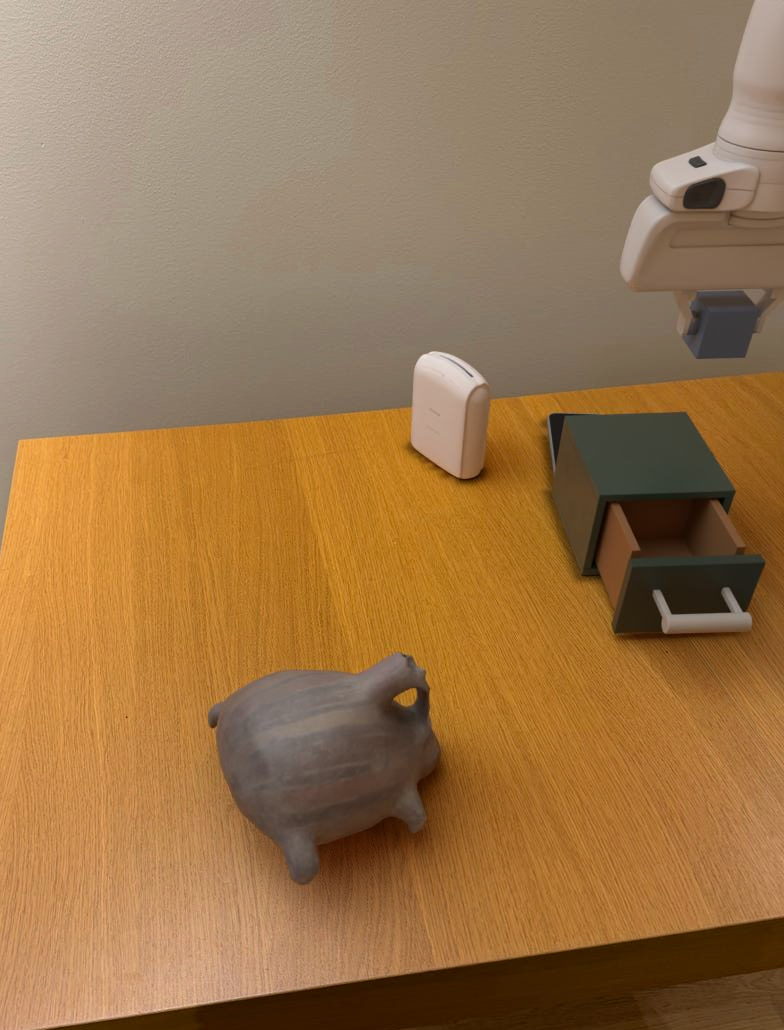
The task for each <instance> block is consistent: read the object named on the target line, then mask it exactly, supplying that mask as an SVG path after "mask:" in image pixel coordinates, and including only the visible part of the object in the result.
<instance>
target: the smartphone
mask: <svg viewBox="0 0 784 1030" xmlns="http://www.w3.org/2000/svg"><path fill="white" fill-rule="evenodd" d="M576 415H604V414H603V413H585V412H584V413H583V412H582V413H581V412H551V413H549V414H548V415H547V421H546V423H547V424H546V425H547V431H548V440H549V447H550V456H551V464H552V471H553V473H552V474H553V475H554V474H555V468H556V462H557V457H558V451H559V446H560V440H561V435H562V429H563V424H564V418H565V416H576Z"/></svg>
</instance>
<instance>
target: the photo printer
mask: <svg viewBox="0 0 784 1030" xmlns="http://www.w3.org/2000/svg"><path fill="white" fill-rule="evenodd" d="M412 384H413V385H412V402H411V404H412V405H411V427H410V443H411V446H412V447H413V448H414V449H415V450H416V451H418V452H419V453H420V454H421V455H423V456H424V457H425V458H427V459H428V460H429V461H431V462H432V463H434V464H435V465H437V466H438V467H439V468H441V469H443V470H444V471H445V472H447V473H449V474H450V475H452V476H454V477H456V478H457V479H461V480H466V479H473V478H475V477H477V476H478V475H479V474H480V473H481V470H482V469H483V468H484V465H485V459H486V458H485V457H486V447H487V440H488V439H487V438H488V430H489V429H488V428H489V419H490V412H491V411H490V410H491V409H490V408H491V399H492V389H491V386H490V384H489V383H488V382H487V380H486V379H485V377H483V375H481V373H480V372H479V371H477V369H475V368H474V367H473V366H472V365H470V364H469V363H468V362H466V361H465V360H463V359H461V358H459V357H457V356H455V355H453V354H451V353H447V352H443V351H430V352H428V353H424V354H422V355H421V356H420V357H419V358H418V360H417V361H416V364H415V366H414V370H413V382H412Z"/></svg>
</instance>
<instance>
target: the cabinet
mask: <svg viewBox="0 0 784 1030" xmlns="http://www.w3.org/2000/svg"><path fill="white" fill-rule="evenodd" d="M736 492H737V490H736V488H735V486H734V485H733V483H732V482H731V480H730V478H729V477H728V475H727V473H726V472H725V471H724V469H723V467H722V466H721V465H720V463H719V461H718V460H717V458H716V456H715V455H714V454H713V452H712V450H711V448H710V447H709V445H708V443H707V442H706V441H705V439H704V438H703V436H702V435H701V433H700V431H699V430H698V428H697V426H696V425H695V423H694V422H693V420H692V419H691V417H690V416H689V414H688V412H687V411H670V412H669V411H668V412H665V411H664V412H639V413H638V412H635V413H634V412H633V413H610V414H609V413H608V414H607V413H605V414H603V415H576V416H565V418H564V424H563V429H562V435H561V440H560V446H559V451H558V457H557V462H556V468H555V474H554V473H553V480H552V485H551V490H550V495H551V497H552V500H553V502H554V505H555V508H556V511H557V513H558V516H559V518H560V521H561V524H562V526H563V529H564V532H565V535H566V537H567V540H568V542H569V543H568V544H569V546H570V548H571V552H572V553H573V556H574V559H575V561H576V564H577V567H578V570H579V573H580V575H581V576H601V575H600V572H599V570H598V567H597V565H596V562H595V559H594V552H595V548H596V544H597V540H598V535H599V531H600V527H601V522H602V518H603V514H604V509H605V505H606V502H610V501H639V500H669V499H699V498H717V499H718V500H719V502H720V504H721V505H722V507H723V509H724V510H725V512H726V514H727V515H728V516H729V512H730V509H731V508H732V504H733V500H734V498H735V495H736Z"/></svg>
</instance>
